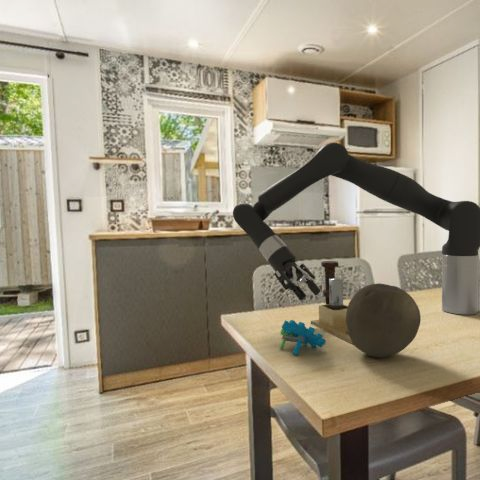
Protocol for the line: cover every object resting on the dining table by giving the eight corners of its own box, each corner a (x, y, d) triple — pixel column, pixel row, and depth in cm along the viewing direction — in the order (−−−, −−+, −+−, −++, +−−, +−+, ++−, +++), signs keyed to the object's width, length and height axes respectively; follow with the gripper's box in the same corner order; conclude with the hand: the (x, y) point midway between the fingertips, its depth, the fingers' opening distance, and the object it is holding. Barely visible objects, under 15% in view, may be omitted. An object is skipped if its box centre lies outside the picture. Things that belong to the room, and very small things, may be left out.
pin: (338, 320, 96) (337, 277, 96) (346, 323, 93) (345, 279, 93) (326, 322, 95) (326, 278, 95) (334, 325, 92) (334, 280, 91)
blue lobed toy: (335, 344, 76) (310, 318, 71) (326, 369, 73) (299, 344, 69) (296, 339, 84) (272, 315, 80) (287, 361, 81) (261, 338, 77)
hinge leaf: (346, 318, 101) (346, 300, 101) (393, 336, 84) (393, 315, 84) (310, 323, 97) (310, 304, 97) (352, 344, 80) (352, 321, 80)
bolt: (341, 305, 116) (340, 261, 115) (336, 309, 112) (336, 262, 111) (324, 304, 119) (323, 260, 119) (319, 307, 115) (318, 262, 114)
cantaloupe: (382, 374, 64) (381, 294, 63) (332, 349, 77) (331, 282, 76) (435, 360, 70) (435, 286, 69) (380, 339, 83) (380, 277, 82)
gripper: (270, 246, 98) (307, 291, 91) (296, 243, 109) (331, 283, 102) (256, 264, 101) (290, 308, 95) (282, 259, 112) (315, 299, 105)
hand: (311, 295), depth 98 cm, fingers open, 8 cm apart
